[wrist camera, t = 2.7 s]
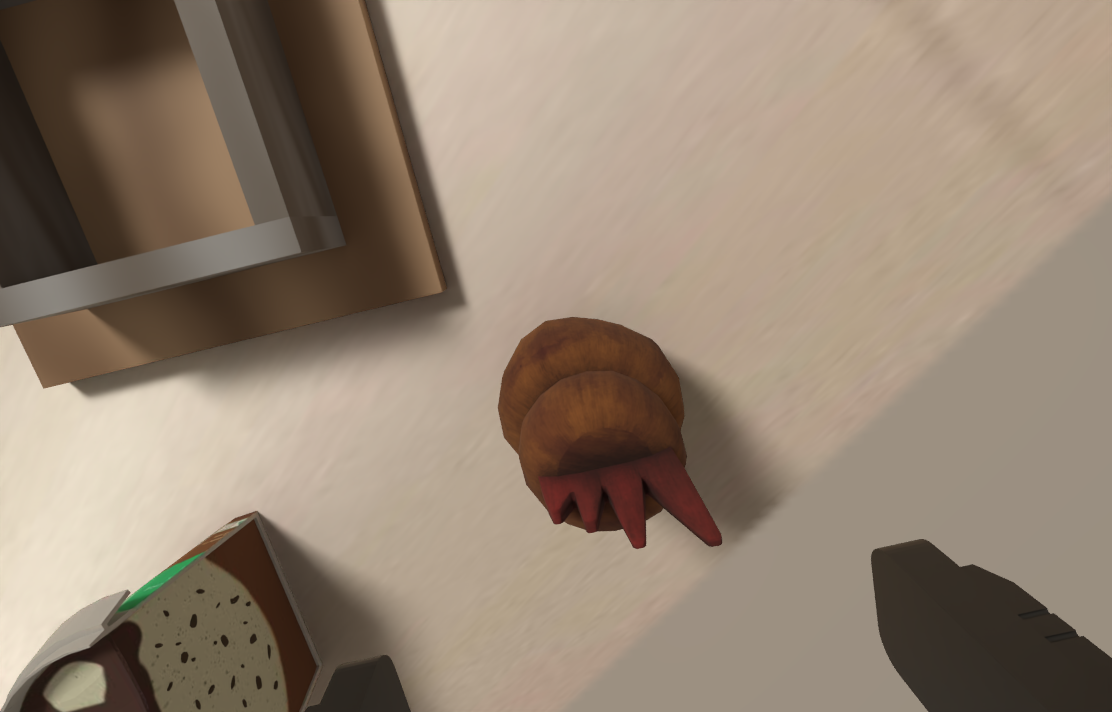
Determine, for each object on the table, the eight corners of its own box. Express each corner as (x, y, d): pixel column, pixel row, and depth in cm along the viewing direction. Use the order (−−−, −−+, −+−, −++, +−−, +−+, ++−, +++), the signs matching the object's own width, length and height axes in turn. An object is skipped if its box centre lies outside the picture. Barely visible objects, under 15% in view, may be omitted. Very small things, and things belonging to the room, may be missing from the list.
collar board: (311, -187, 21) (227, -331, 15) (447, 288, 25) (419, 309, 20) (-142, -61, 22) (-378, -156, 16) (66, 380, 26) (-64, 425, 20)
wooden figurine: (666, 319, 26) (823, 455, 11) (640, 436, 27) (750, 693, 13) (518, 294, 25) (484, 403, 11) (499, 415, 27) (446, 654, 12)
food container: (125, 513, 28) (-102, 675, 18) (245, 483, 27) (81, 631, 18) (223, 713, 31) (74, 945, 21) (332, 688, 30) (232, 911, 21)
